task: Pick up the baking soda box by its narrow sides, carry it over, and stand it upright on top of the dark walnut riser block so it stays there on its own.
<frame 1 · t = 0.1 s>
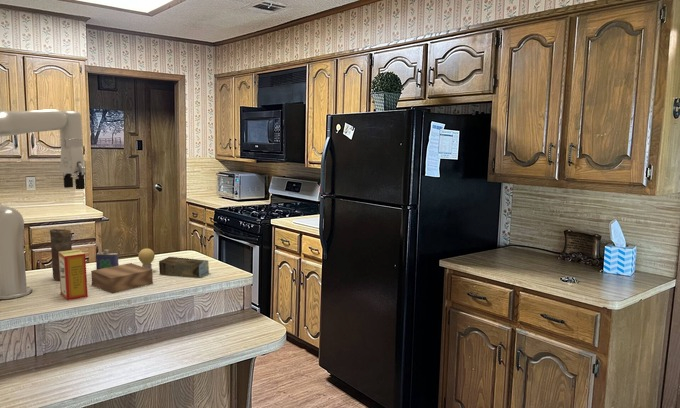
hand: (74, 188, 193), 37 cm above the counter, tool pointing down, fingers open, 9 cm apart
walnut riser block: (122, 285, 193), on the counter
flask: (107, 275, 207), on the counter
baking soda box: (74, 295, 179), on the counter
light bulb: (147, 272, 212), on the counter
beverage carton: (184, 275, 208), on the counter
candle: (63, 278, 201), on the counter
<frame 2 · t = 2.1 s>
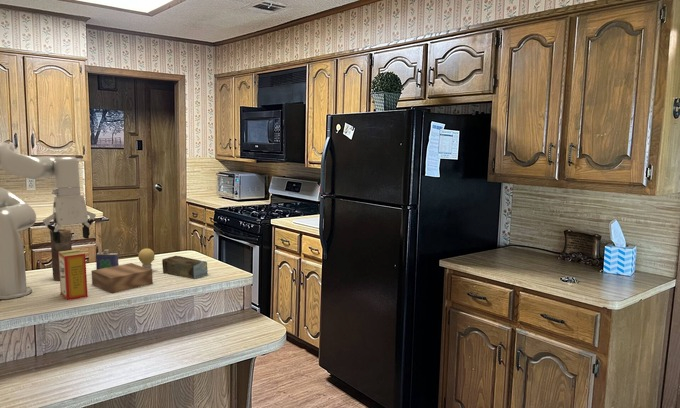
hand: (72, 240, 177), 20 cm above the counter, tool pointing down, fingers open, 9 cm apart
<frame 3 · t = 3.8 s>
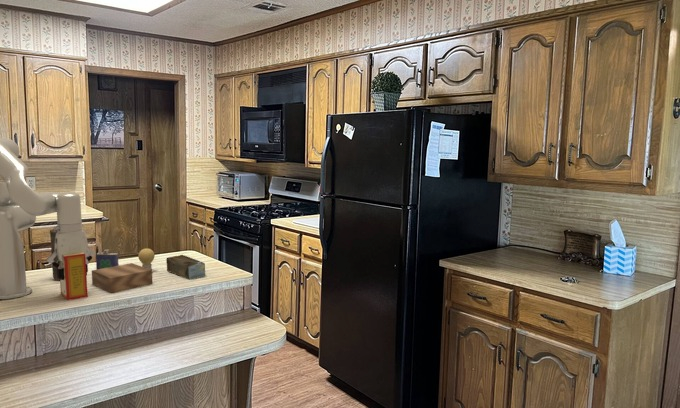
hand: (73, 276, 178), 7 cm above the counter, tool pointing down, fingers closed on baking soda box, 7 cm apart
baking soda box: (74, 295, 179), on the counter, touching gripper
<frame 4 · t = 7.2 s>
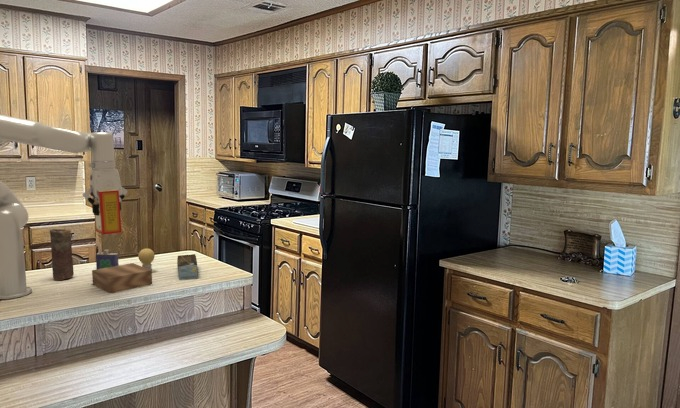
hand: (107, 213, 186), 28 cm above the counter, tool pointing down, fingers closed on baking soda box, 7 cm apart
baking soda box: (108, 232, 187), point 21 cm above the counter, touching gripper
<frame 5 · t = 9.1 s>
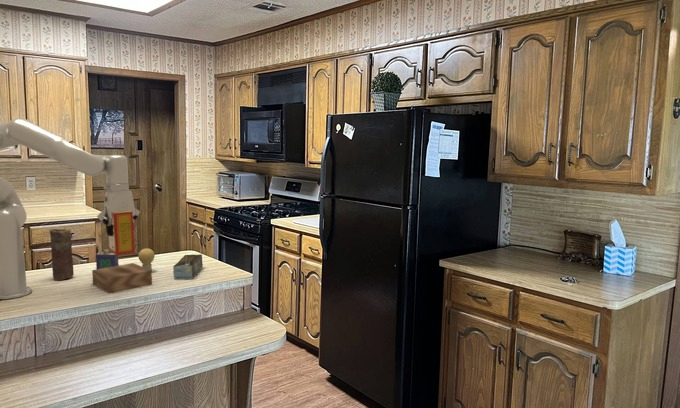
hand: (120, 233, 190), 20 cm above the counter, tool pointing down, fingers closed on baking soda box, 7 cm apart
baking soda box: (121, 252, 191), point 13 cm above the counter, touching gripper
when the fingers open (14 cm above the counter, at t = 10.7 s): baking soda box drops 2 cm, resting on walnut riser block.
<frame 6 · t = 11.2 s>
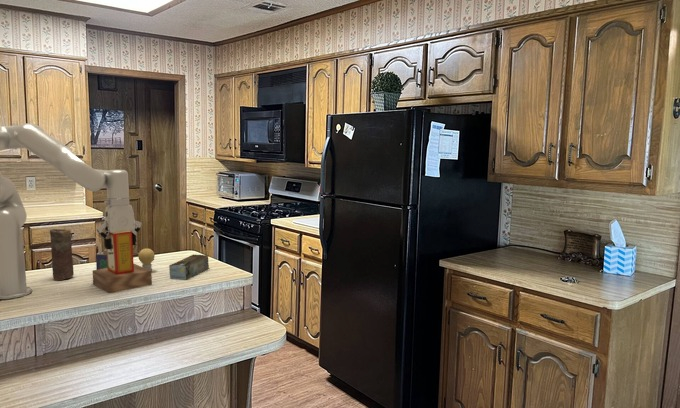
hand: (120, 246, 191), 15 cm above the counter, tool pointing down, fingers open, 9 cm apart
walnut riser block: (122, 285, 193), on the counter, touching baking soda box
baking soda box: (120, 271, 192), point 5 cm above the counter, touching walnut riser block
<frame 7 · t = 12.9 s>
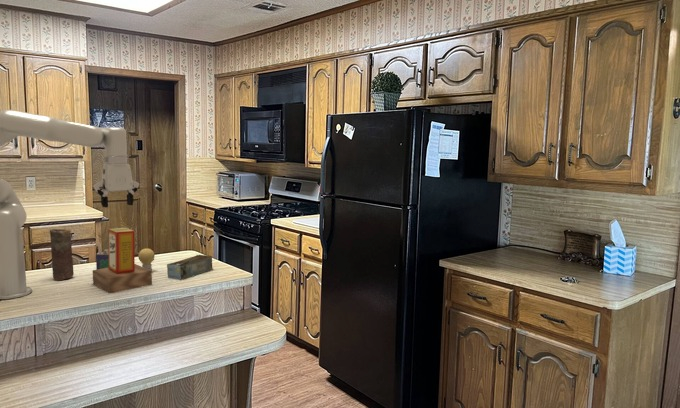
hand: (117, 206, 189), 31 cm above the counter, tool pointing down, fingers open, 9 cm apart
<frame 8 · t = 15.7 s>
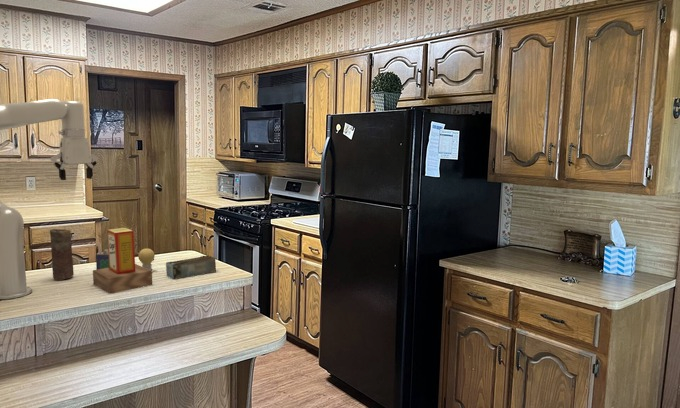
hand: (76, 179, 192), 40 cm above the counter, tool pointing down, fingers open, 9 cm apart
walnut riser block: (123, 285, 193), on the counter
baking soda box: (122, 270, 192), point 5 cm above the counter
at the end: baking soda box inside the target area on the walnut riser block (0.2 cm from its centre), point 5.8 cm above the walnut riser block's base; baking soda box tilted 1°; the gripper is holding nothing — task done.
